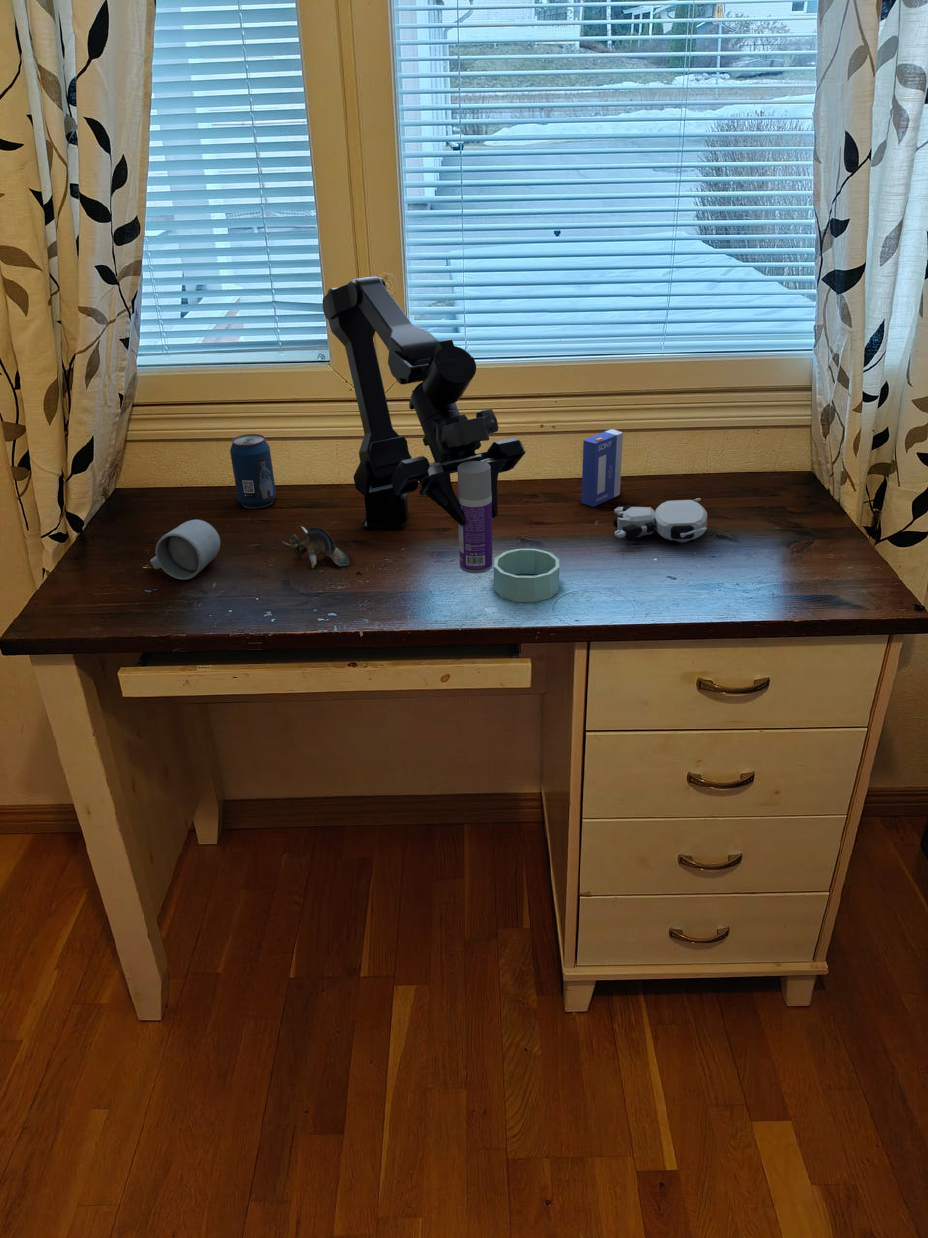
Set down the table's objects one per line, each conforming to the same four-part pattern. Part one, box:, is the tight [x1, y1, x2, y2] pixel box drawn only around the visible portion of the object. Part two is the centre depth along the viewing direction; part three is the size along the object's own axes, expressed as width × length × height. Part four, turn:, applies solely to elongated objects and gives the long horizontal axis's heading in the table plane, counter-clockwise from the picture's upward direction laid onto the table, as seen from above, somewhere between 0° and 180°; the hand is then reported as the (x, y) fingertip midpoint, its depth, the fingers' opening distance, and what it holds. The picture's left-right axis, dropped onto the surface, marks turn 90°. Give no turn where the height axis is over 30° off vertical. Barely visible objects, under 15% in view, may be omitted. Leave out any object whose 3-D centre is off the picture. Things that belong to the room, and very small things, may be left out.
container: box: [457, 461, 493, 574], centre depth 132 cm, size 5×5×15 cm
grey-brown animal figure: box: [281, 525, 351, 569], centre depth 150 cm, size 8×7×9 cm
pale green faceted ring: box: [493, 548, 561, 603], centre depth 141 cm, size 10×10×4 cm
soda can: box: [229, 433, 277, 509], centre depth 170 cm, size 7×7×12 cm
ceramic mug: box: [149, 519, 221, 581], centre depth 149 cm, size 11×8×8 cm
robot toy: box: [612, 497, 708, 543], centre depth 155 cm, size 12×4×15 cm
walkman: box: [581, 428, 624, 508], centre depth 167 cm, size 8×3×12 cm, turn 134°
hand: (479, 520), depth 131 cm, fingers closed on container, 4 cm apart
